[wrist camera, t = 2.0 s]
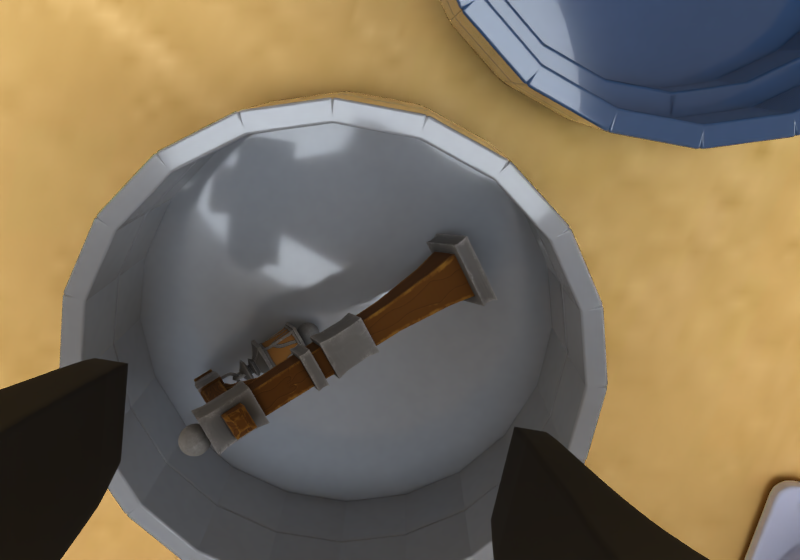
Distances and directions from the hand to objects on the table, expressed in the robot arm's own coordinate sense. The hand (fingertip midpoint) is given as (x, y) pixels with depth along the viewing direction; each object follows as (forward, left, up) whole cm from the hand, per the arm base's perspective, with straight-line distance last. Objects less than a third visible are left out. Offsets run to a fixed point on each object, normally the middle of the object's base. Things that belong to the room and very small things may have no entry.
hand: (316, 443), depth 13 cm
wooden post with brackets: (0, 0, -7) cm, 7 cm away
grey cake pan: (0, 0, -7) cm, 7 cm away
